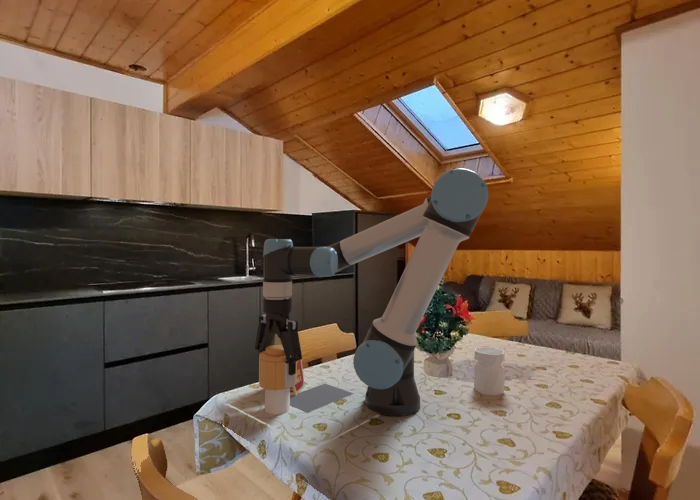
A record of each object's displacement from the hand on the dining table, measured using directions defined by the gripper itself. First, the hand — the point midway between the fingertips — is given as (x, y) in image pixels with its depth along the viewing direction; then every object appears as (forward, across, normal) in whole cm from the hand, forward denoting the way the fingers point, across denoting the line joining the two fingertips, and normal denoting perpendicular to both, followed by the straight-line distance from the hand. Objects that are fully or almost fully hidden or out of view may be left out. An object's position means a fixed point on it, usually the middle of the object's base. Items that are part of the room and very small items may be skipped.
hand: (277, 381), depth 104 cm
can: (+8, 0, 0) cm, 8 cm away
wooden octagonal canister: (0, 0, 0) cm, 1 cm away
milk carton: (+8, +10, -11) cm, 16 cm away
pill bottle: (+8, -35, -53) cm, 64 cm away
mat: (+8, -2, -13) cm, 15 cm away
